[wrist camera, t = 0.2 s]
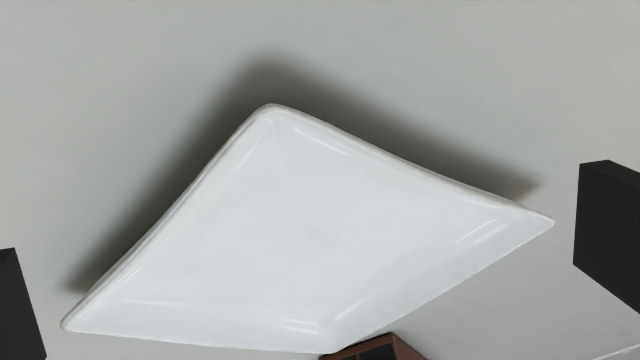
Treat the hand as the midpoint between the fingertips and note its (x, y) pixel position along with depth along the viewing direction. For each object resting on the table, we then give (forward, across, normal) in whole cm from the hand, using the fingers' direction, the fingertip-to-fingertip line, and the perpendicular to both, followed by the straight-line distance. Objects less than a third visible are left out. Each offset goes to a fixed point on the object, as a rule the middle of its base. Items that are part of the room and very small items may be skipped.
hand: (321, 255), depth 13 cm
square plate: (+28, +2, -12) cm, 30 cm away
